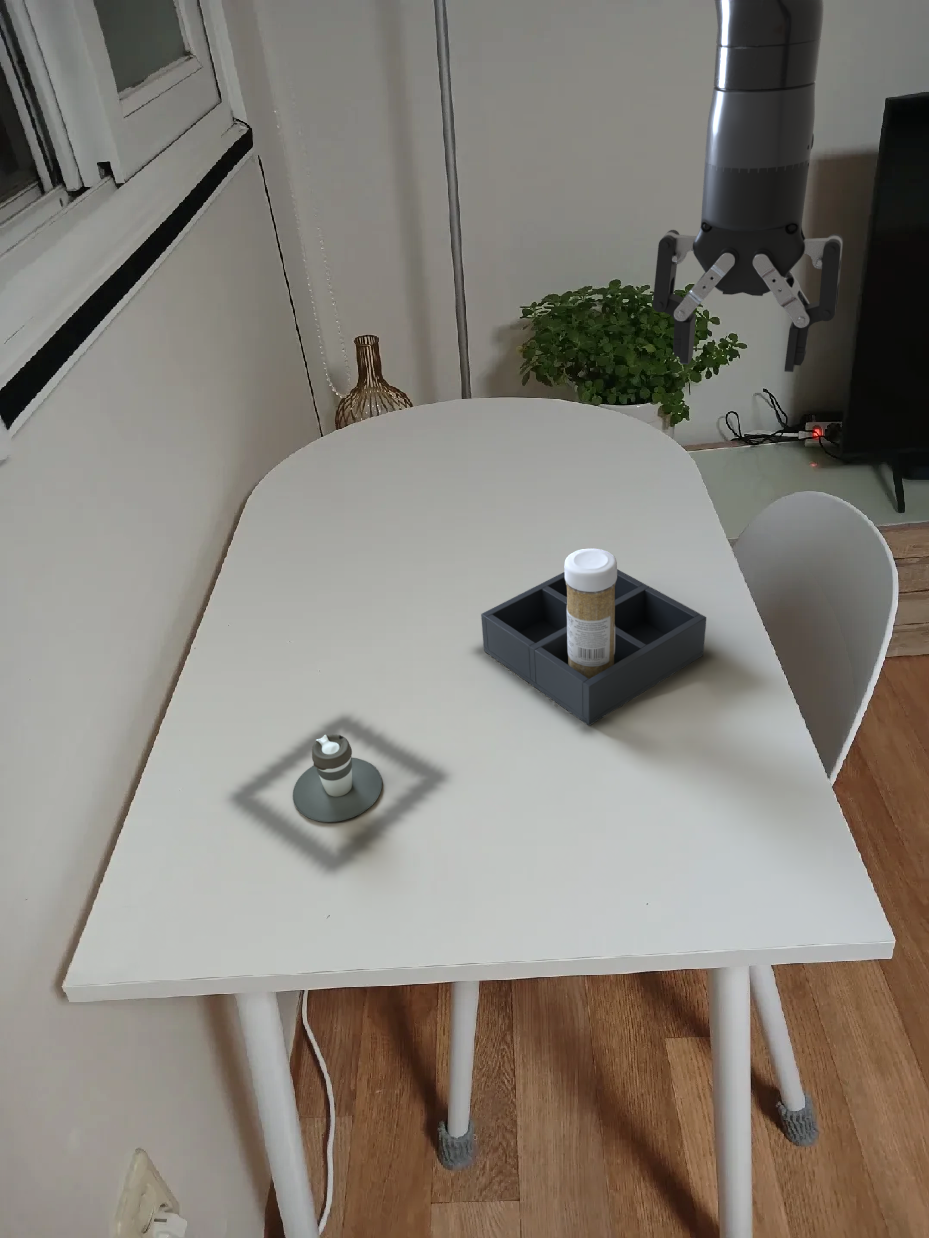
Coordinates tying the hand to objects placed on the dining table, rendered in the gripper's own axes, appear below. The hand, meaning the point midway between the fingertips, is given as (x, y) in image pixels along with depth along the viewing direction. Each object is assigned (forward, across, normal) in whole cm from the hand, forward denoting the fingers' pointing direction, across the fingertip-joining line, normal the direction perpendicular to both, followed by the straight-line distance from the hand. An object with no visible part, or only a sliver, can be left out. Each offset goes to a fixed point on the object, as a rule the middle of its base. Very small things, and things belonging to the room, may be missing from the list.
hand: (737, 365), depth 80 cm
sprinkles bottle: (+28, -9, -12) cm, 31 cm away
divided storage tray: (+28, -11, -6) cm, 31 cm away
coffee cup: (+28, -26, -31) cm, 49 cm away
